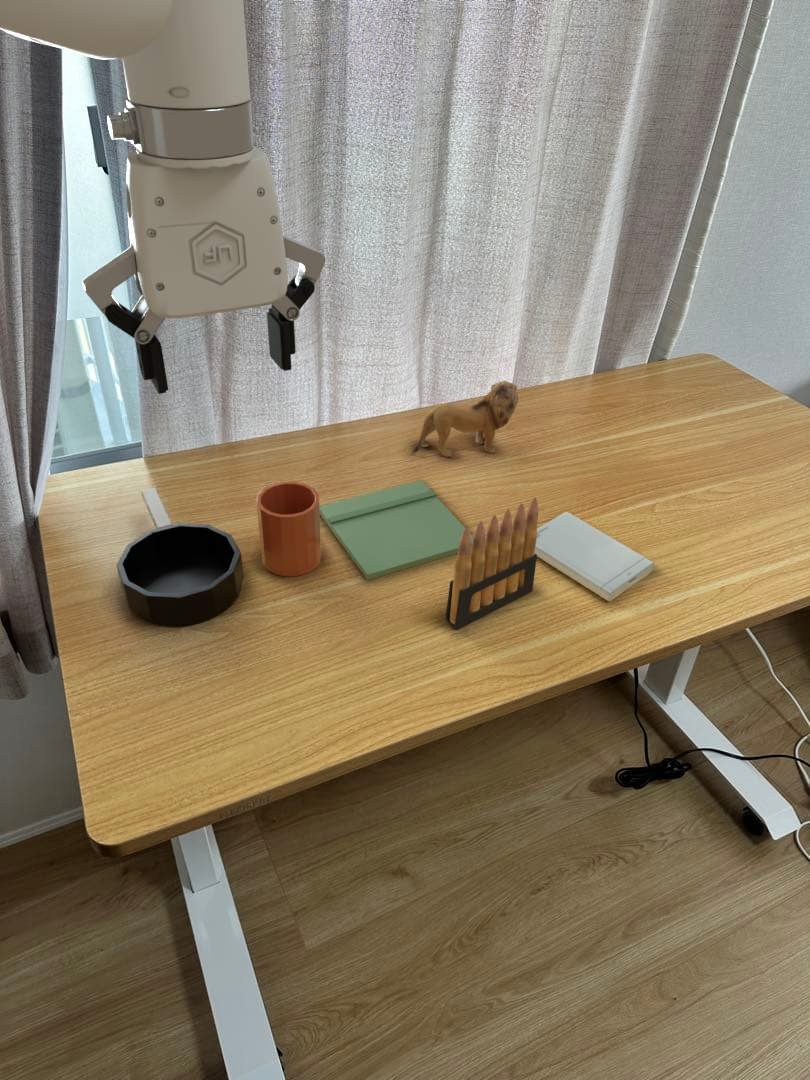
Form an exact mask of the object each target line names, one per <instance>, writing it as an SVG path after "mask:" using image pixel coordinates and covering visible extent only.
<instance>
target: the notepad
mask: <svg viewBox="0 0 810 1080" xmlns="http://www.w3.org/2000/svg"><path fill="white" fill-rule="evenodd" d="M320 517H321V518H322V519H323V520H324V522H325V523H326V525H327V526H328V527H329V529H330V530H331V532H332V533H333V535H334V536H335V537H336V539H337V540H338V541H339V543H340V544H341V546H342V547H343V548H344V550H345V551H346V552H347V554H348V555H349V557H350V559H352V561H353V562H354V564H355V565H356V567H357V568H358V569H359V571H360V572H361V574H362V576H364V578H365V579H366V581H371V580H373V579H377V578H380V577H384V576H386V575H389V574H394V573H396V572H400V571H404V570H406V569H410V568H413V567H417V566H420V565H423V564H426V563H431V562H433V561H436V560H440V559H443V558H447V557H450V556H453V555H456V554H458V550H459V543H460V539H461V536H462V533H463V531H464V529H465V528H466V527H465V526H464V525H463V523H462V522H461V521H460V520H459V519H458V518H457V517H456V516H455V514H453V513H452V511H451V510H450V509H449V508H448V507H447V506H446V505H445V504H444V503H443V502H442V501H441V500H440V499H439V498H438V497H437V493H436V492H435V491H434V490H431V489H430V487H428V486H427V485H426V483H425V482H424V481H423V480H420V479H419V480H417V481H413V482H409V483H405V484H401V485H396V486H393V487H390V488H384V489H382V490H377V491H373V492H370V493H369V492H368V493H365V494H361V495H357V496H354V497H350V498H346V499H342V500H337V501H334V502H330V503H326V504H322V505H320ZM470 535H471V547H472V543H473V537H474V534H472V533H471V532H470Z"/></svg>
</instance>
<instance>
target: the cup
mask: <svg viewBox="0 0 810 1080" xmlns="http://www.w3.org/2000/svg"><path fill="white" fill-rule="evenodd" d="M320 506H321V505H320V494H319V493H318V491H317V490H316V489H315V488H314V487H312V486H311V485H309V484H307V483H302V482H298V481H281V482H277V483H273V484H270V485H269V486H267V487H265V488H263V489H262V490H261V491H260V492H259V493H258V494H257V496H256V512H257V522H258V523H257V524H258V534H259V542H260V543H259V544H260V553H261V560H262V564H263V566H264V567H265V568H266V570H268V571H269V572H270V573H272V574H274V575H278V576H282V577H297V576H298V577H299V576H302V575H306V574H308V573H310V572H312V571H314V570H315V569H316V568H317V567H318V566H319V564H320V563H321V560H322V539H321V538H322V535H321V515H320Z"/></svg>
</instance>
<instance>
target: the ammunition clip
mask: <svg viewBox="0 0 810 1080" xmlns="http://www.w3.org/2000/svg"><path fill="white" fill-rule="evenodd" d="M538 502H539V501H538V499H537V498H536V497H533V499H531V501H530V504H529V505H528V507H527V510H526V508H525V505H524V503H523V502H522V503H520V504H519V505H518V506H517V508H516V511H515V513H514V517H513V516H512V512H511V510H510V509H509V508H508V509H506V510H505V512H504V513H503V515H502V518H501V522H500V525H499V519H498V517H497V515H495V514H493V516H492V517H491V519H490V521H489V523H488V526H487V530H486V529H485V525H484V522H483V521H482V520H480V521H479V522H478V523H477V524H476V527H475V529H474V533H473V543H472V547H471V535H470V533H471V530H470V529H469V527H467V526H466V527H465V529H464V531H463V533H462V536H461V539H460V543H459V550H458V553H457V555H456V559H455V562H454V568H453V578H452V580H451V581H449V588H448V596H447V603H446V610H445V619H444V620H445V621H446V622H447V623H448V624H450V626H452V627H453V629H455V630H460V629H462V628H464V627H466V626H468V625H470V624H472V623H473V622H475V621H478V620H480V619H481V618H484V617H486V616H487V615H490V614H491V613H494V612H495V611H497V610H499V609H501V608H503V607H505V606H507V605H508V604H510V603H512V602H514V601H516V600H519V599H520V598H522V597H524V596H527V595H528V594H530V593H532V592H533V588H534V582H535V575H536V567H537V560H538V559H537V558H538V556H537V555H536V554H534V552H535V546H536V540H537V528H538V522H539V521H538V520H539V503H538Z"/></svg>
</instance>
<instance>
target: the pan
mask: <svg viewBox="0 0 810 1080" xmlns="http://www.w3.org/2000/svg"><path fill="white" fill-rule="evenodd" d="M140 493H141V497H142V499H143V501H144V504H145V506H146V508H147V511H148V513H149V516H150V519H151V520H152V522H153V525H154V527H155V528H154V529H150V530H148V531H147V532H145V533H144V534H141V535H140V536H139V537H137V538H136V539H134V540H133V541H130V543H128V544H127V545H126V546H125V548H124V549H123V552H122V554H121V556H120V557H119V559H118V561H117V563H116V569H117V573H118V577H119V581H120V582H119V583H120V586H121V590H122V593H123V597H124V598H125V602H126V605H127V607H128V609H129V610H130V611H131V613H132V614H133V615H135V617H137V618H139V619H140V620H142V621H144V622H146V623H148V624H151V625H154V626H159V627H165V628H167V627H168V628H180V627H189V626H194V625H199V624H202V623H204V622H208V621H209V620H212V619H214V618H216V617H218V616H220V615H221V614H223V613H224V612H225V611H227V610H228V609H230V608H231V607H232V606H233V604H235V602H236V601H237V600H238V598H239V597H240V594H241V592H242V588H243V580H244V576H245V575H244V568H243V559H242V551H241V550H240V548H239V547H238V544H237V541H236V540H235V539H234V537H233V535H232V534H230V533H228V532H225V531H223V530H221V529H219V528H217V527H215V526H213V525H211V524H204V523H203V524H202V523H189V522H188V523H186V522H177V523H174V524H173V523H172V520H171V518H170V516H169V514H168V512H167V510H166V508H165V506H164V503H163V501H162V499H161V497H160V495H159V493H158V490H157V488H156V486H154V487H149V488H145V489H141V490H140Z"/></svg>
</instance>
